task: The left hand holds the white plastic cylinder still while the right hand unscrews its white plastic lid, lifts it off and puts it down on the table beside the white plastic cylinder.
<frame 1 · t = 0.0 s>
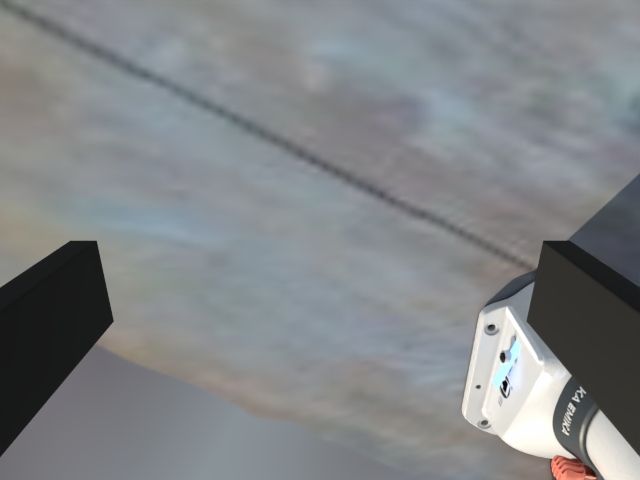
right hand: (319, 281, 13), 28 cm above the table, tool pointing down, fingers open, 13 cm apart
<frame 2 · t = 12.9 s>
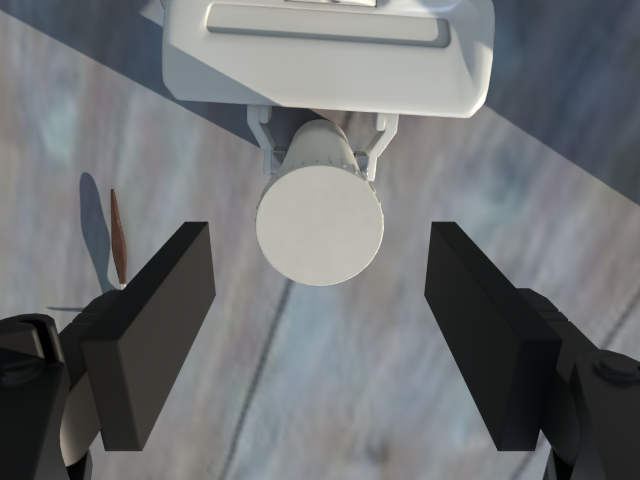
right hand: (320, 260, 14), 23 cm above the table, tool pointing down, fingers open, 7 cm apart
left hand: (319, 176, 29), fingers closed on white plastic cylinder, 5 cm apart
fork: (124, 269, 39), on the table
lid: (319, 225, 17), point 19 cm above the table, screwed on, not yet turned
white plastic cylinder: (319, 148, 35), on the table, touching left hand
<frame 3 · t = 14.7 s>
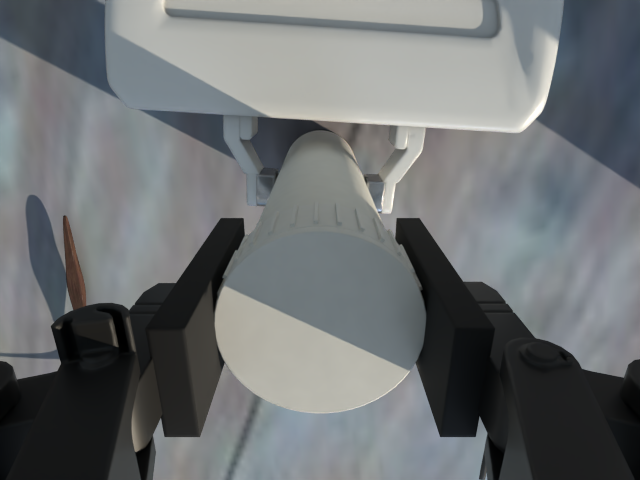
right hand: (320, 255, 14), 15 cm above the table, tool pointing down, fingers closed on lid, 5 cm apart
left hand: (320, 207, 23), fingers closed on white plastic cylinder, 5 cm apart
fork: (85, 309, 33), on the table
lid: (320, 323, 11), point 19 cm above the table, screwed on, not yet turned, touching right hand
white plastic cylinder: (320, 165, 29), on the table, touching left hand
when the right hand's fingers open (16 cm above the table, at t = 16.2 s): lid stays where it is, point 20 cm above the table.
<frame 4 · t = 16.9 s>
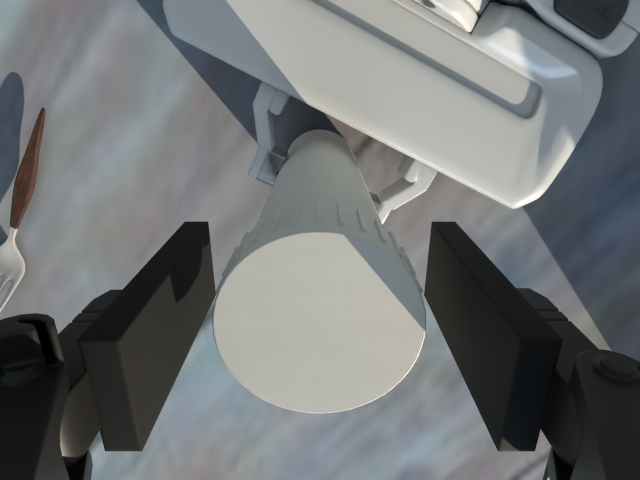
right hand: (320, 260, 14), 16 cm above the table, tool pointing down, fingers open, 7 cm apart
left hand: (313, 203, 23), fingers closed on white plastic cylinder, 5 cm apart
fork: (23, 210, 30), on the table
lid: (319, 322, 10), point 20 cm above the table, turned 105° so far, risen 0.4 cm, still on its thread
white plastic cylinder: (319, 164, 29), on the table, touching left hand
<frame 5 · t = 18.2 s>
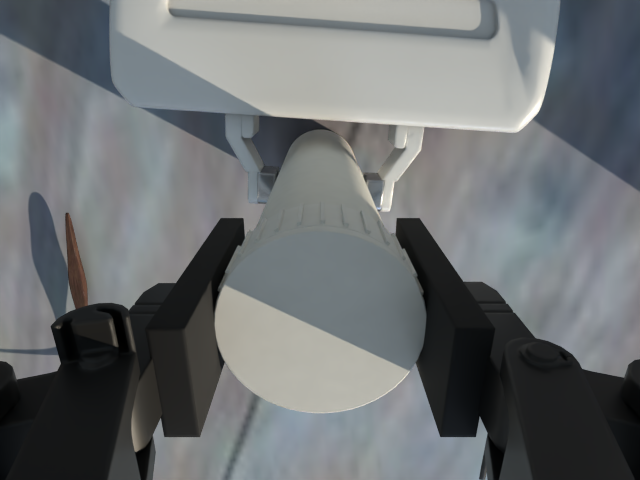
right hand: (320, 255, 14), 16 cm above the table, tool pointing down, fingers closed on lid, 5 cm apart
left hand: (319, 205, 23), fingers closed on white plastic cylinder, 5 cm apart
fork: (86, 306, 33), on the table
lid: (320, 322, 10), point 20 cm above the table, turned 105° so far, risen 0.4 cm, still on its thread, touching right hand
white plastic cylinder: (320, 164, 29), on the table, touching left hand
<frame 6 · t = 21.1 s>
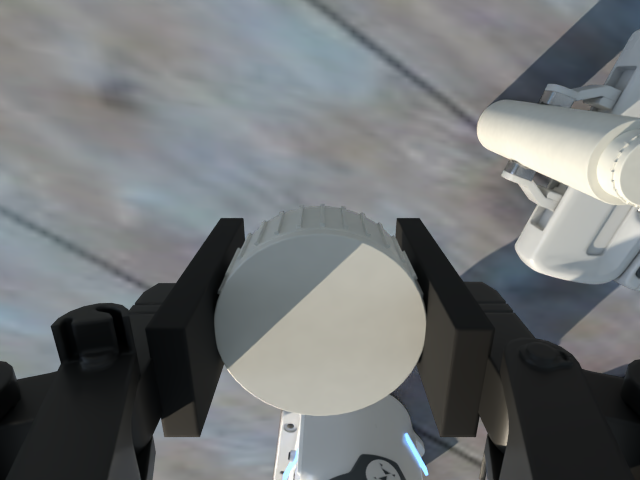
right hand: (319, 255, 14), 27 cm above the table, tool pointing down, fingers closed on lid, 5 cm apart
left hand: (526, 132, 33), fingers closed on white plastic cylinder, 5 cm apart
lid: (320, 325, 10), point 31 cm above the table, off its thread, touching right hand
white plastic cylinder: (502, 126, 39), on the table, touching left hand
when the right hand's fingers open (0 cm above the table, at t = 24.4 s): lid drops 3 cm, point 2 cm above the table.
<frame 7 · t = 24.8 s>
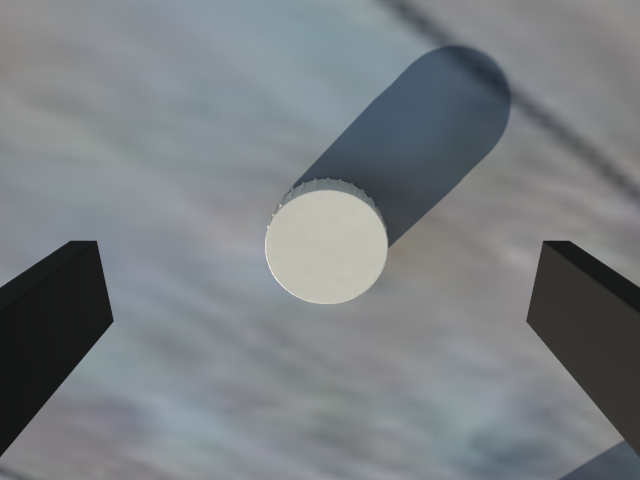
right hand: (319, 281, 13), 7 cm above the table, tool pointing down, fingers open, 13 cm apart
lid: (326, 246, 18), point 2 cm above the table, off its thread
when the left hand's fingers open (7 cm above the table, at t = 25.0 s): white plastic cylinder stays where it is, on the table.
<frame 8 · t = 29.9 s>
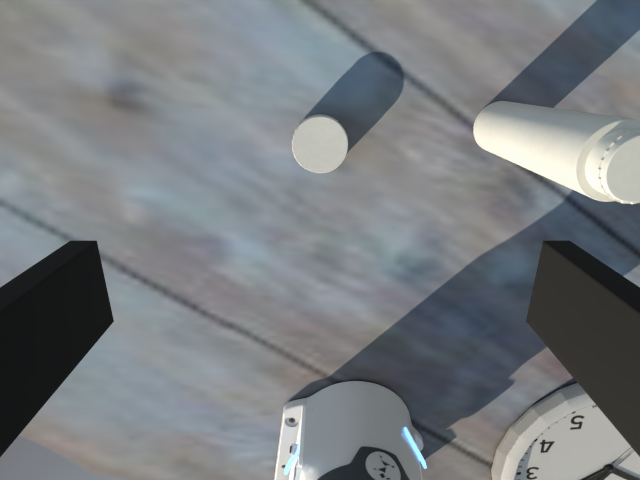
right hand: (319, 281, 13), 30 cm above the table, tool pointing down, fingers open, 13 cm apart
wall clock: (603, 461, 56), on the table
lid: (320, 144, 39), point 2 cm above the table, off its thread
white plastic cylinder: (498, 126, 40), on the table
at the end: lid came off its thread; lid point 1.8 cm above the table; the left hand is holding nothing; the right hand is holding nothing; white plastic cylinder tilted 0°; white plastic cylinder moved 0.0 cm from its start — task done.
